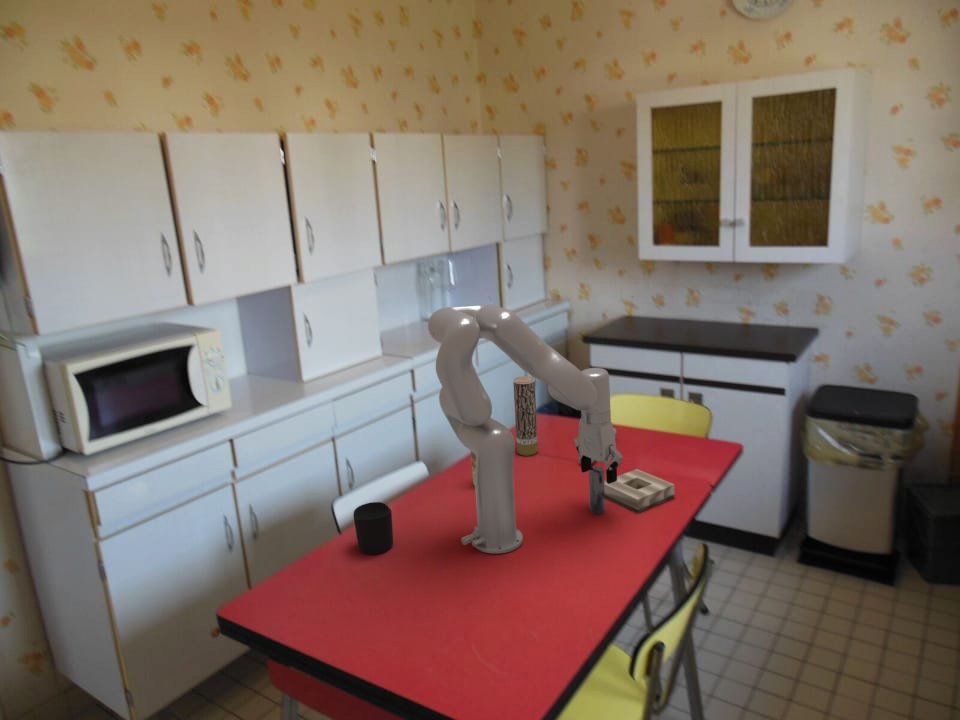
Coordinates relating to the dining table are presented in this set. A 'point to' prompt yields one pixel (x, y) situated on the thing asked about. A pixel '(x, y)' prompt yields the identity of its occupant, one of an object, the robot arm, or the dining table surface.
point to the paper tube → (525, 415)
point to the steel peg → (597, 490)
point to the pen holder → (373, 528)
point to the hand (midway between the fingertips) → (599, 476)
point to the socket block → (639, 491)
